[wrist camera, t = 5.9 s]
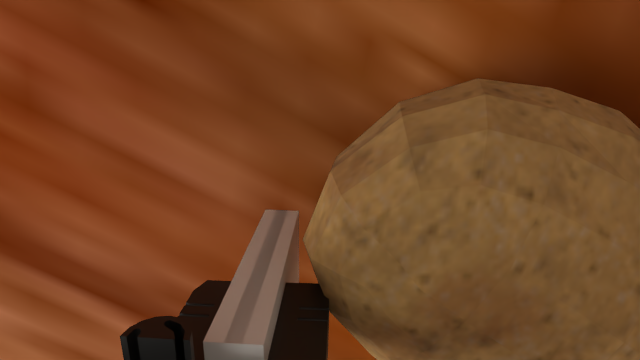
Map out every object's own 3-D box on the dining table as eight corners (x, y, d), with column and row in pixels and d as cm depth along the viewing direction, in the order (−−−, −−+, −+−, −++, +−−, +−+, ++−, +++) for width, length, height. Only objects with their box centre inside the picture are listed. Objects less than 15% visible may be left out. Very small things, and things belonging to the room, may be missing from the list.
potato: (542, 391, 18) (671, 636, 11) (275, 220, 17) (207, 365, 9) (731, 228, 15) (1095, 410, 8) (425, 3, 14) (505, -44, 6)
